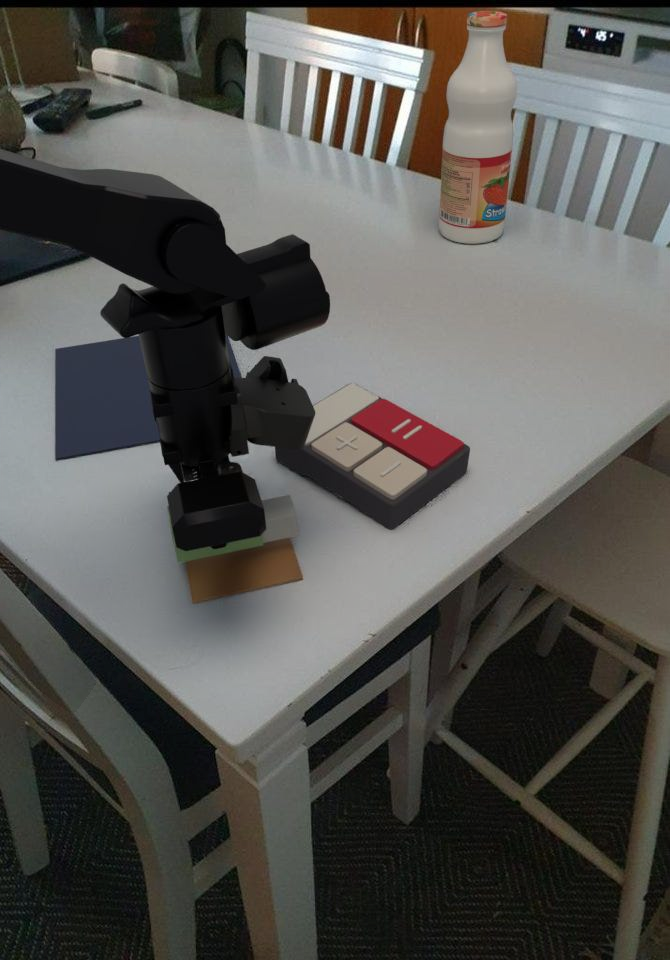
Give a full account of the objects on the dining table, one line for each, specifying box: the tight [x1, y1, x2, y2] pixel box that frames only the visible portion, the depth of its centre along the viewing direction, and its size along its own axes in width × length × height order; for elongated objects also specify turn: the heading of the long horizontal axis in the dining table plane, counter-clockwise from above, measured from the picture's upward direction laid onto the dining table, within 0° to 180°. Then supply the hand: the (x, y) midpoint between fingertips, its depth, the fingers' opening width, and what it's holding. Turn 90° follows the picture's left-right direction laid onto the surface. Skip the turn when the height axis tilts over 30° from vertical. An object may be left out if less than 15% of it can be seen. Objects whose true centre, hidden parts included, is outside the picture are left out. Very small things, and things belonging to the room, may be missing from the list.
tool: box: [166, 494, 299, 564], centre depth 66 cm, size 10×3×4 cm, turn 105°
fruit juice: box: [438, 10, 518, 245], centre depth 109 cm, size 9×9×28 cm
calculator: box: [274, 382, 471, 530], centre depth 75 cm, size 11×4×15 cm
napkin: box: [54, 333, 243, 461], centre depth 89 cm, size 20×22×1 cm
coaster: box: [184, 537, 304, 604], centre depth 68 cm, size 9×9×1 cm
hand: (216, 532), depth 66 cm, fingers closed on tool, 3 cm apart
